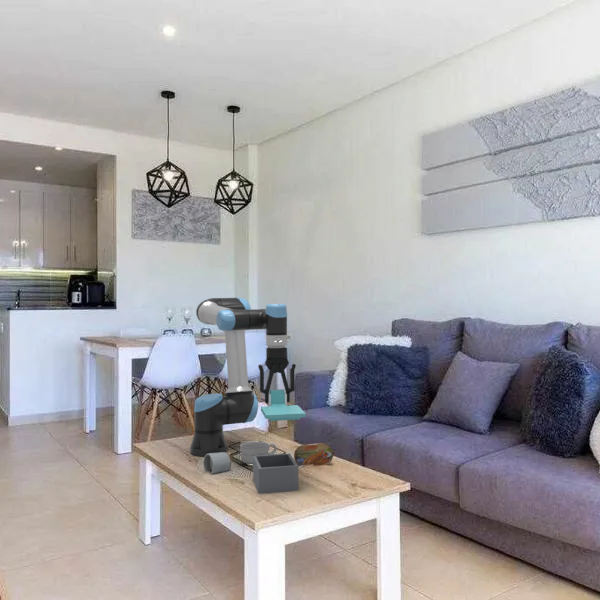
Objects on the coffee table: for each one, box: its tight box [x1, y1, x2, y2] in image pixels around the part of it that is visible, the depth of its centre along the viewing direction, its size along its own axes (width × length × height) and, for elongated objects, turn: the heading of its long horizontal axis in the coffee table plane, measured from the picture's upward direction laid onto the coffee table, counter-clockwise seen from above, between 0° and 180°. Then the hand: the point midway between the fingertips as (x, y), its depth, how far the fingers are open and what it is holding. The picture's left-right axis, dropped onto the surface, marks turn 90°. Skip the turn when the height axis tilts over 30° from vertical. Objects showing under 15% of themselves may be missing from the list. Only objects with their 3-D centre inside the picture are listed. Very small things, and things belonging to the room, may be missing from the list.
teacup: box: [240, 441, 278, 465], centre depth 211 cm, size 14×11×8 cm
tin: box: [293, 442, 334, 467], centre depth 208 cm, size 15×3×8 cm, turn 105°
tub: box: [252, 453, 300, 495], centre depth 184 cm, size 15×13×9 cm
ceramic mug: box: [203, 452, 232, 475], centre depth 202 cm, size 11×8×8 cm
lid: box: [260, 388, 307, 422], centre depth 188 cm, size 21×13×7 cm, turn 11°
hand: (277, 411), depth 197 cm, fingers closed on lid, 5 cm apart
